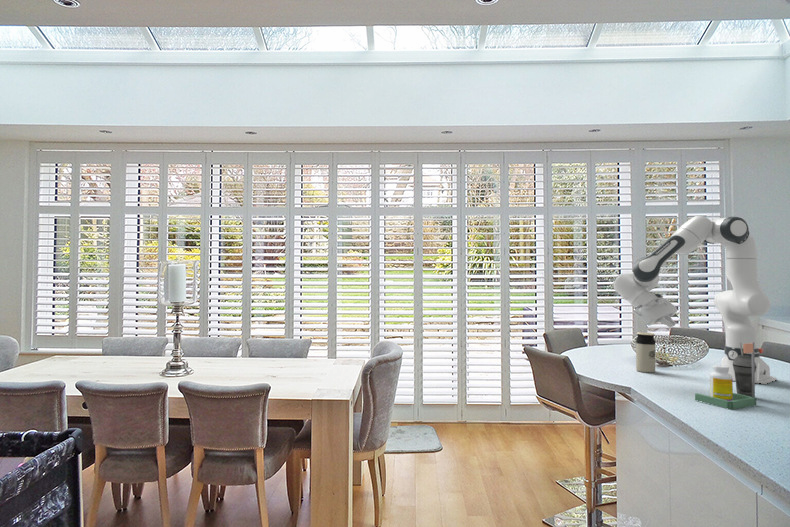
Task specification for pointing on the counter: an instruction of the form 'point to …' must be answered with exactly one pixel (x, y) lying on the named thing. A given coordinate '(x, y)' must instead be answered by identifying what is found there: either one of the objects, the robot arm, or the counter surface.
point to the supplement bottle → (721, 383)
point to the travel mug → (645, 352)
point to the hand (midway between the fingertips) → (673, 325)
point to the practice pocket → (738, 399)
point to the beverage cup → (743, 374)
